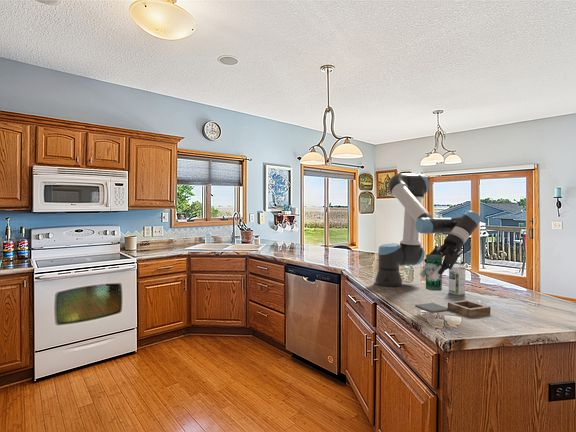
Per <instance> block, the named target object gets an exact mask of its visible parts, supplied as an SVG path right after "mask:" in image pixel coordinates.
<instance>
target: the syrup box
mask: <svg viewBox="0 0 576 432" xmlns="http://www.w3.org/2000/svg"><path fill="white" fill-rule="evenodd" d="M449 293H450V294H453V295H456V296H461V295H465V294H466V266H462V265H458V264H457V265H456V264H454V265H453V267H452V268H451V269H448V294H449Z"/></svg>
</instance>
